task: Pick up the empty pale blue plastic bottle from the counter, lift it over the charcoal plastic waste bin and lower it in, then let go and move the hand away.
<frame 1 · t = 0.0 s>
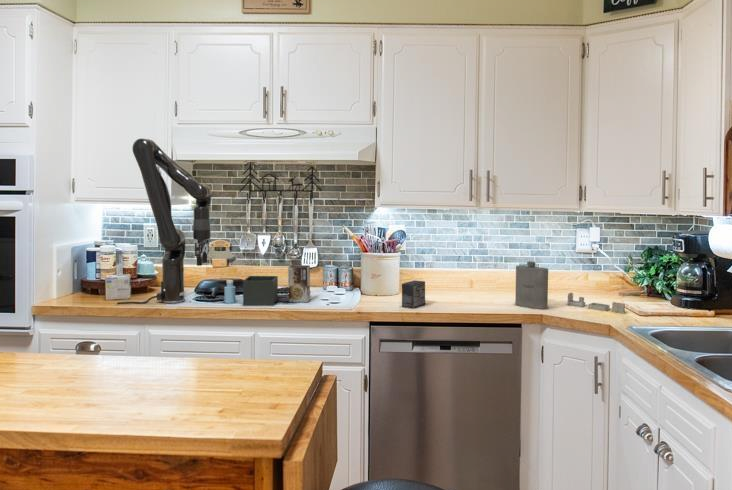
hand: (202, 264, 278), 17 cm above the worktop, tool pointing down, fingers open, 8 cm apart
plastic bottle: (230, 302, 278), on the worktop
light bulb box: (118, 298, 286), on the worktop
flask: (530, 307, 272), on the worktop
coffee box: (299, 301, 282), on the worktop
waste bin: (260, 302, 278), on the worktop
small box: (413, 305, 273), on the worktop
bathroom set: (596, 308, 269), on the worktop
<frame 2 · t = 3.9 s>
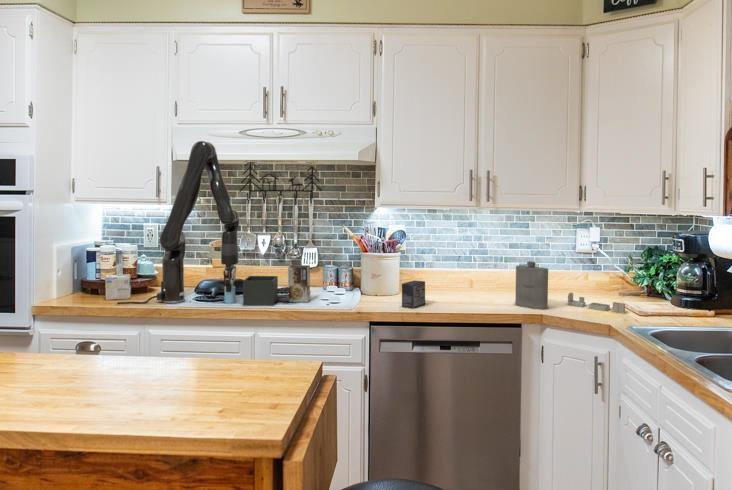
hand: (229, 290, 278), 5 cm above the worktop, tool pointing down, fingers closed on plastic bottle, 4 cm apart
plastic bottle: (230, 302, 278), on the worktop, touching gripper
everything else where it was.
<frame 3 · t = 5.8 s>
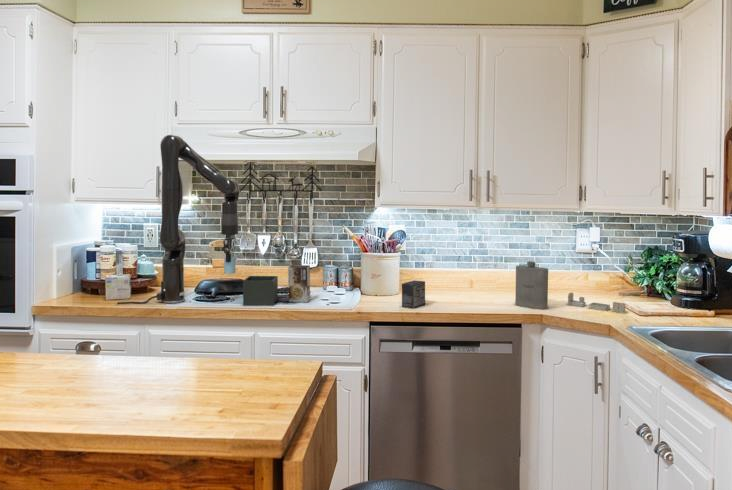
hand: (229, 261, 277), 19 cm above the worktop, tool pointing down, fingers closed on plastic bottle, 4 cm apart
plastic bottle: (229, 273, 277), point 13 cm above the worktop, touching gripper
everything else where it was.
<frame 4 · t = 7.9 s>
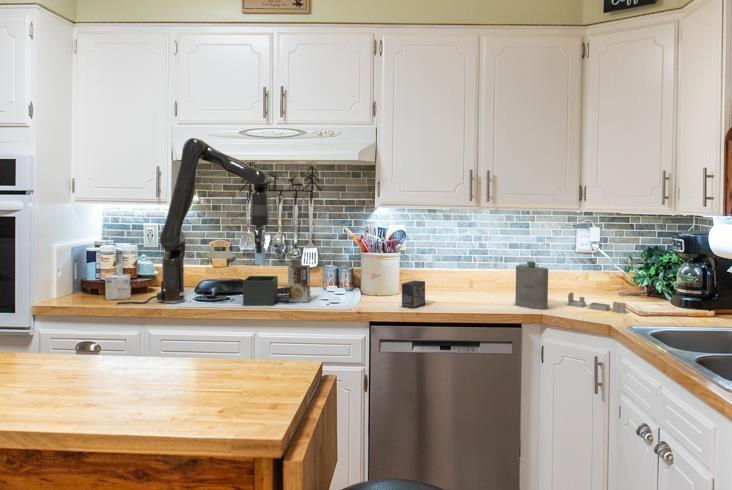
hand: (260, 251, 277), 23 cm above the worktop, tool pointing down, fingers closed on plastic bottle, 4 cm apart
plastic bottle: (260, 263, 277), point 18 cm above the worktop, touching gripper
everything else where it was.
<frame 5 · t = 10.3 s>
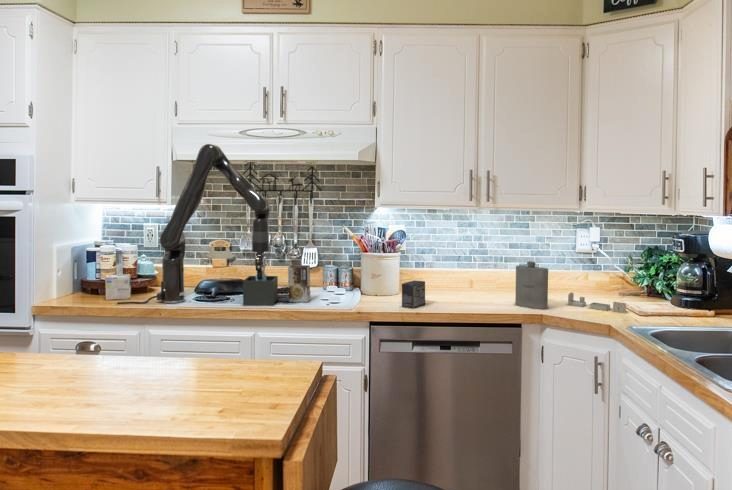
hand: (260, 278, 278), 11 cm above the worktop, tool pointing down, fingers closed on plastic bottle, 4 cm apart
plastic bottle: (261, 289, 278), point 6 cm above the worktop, touching gripper
everything else where it was.
when the fingers open (7 cm above the worktop, at t = 12.6 s): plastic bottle stays where it is, resting on waste bin.
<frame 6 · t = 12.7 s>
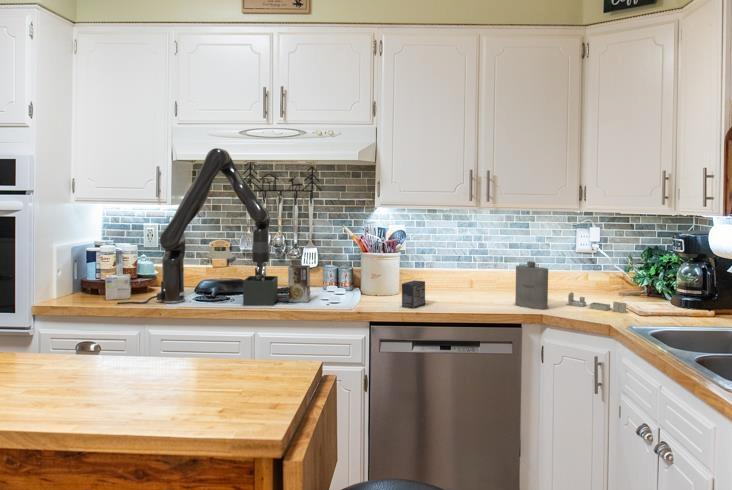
hand: (260, 287, 278), 7 cm above the worktop, tool pointing down, fingers open, 6 cm apart
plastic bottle: (261, 300, 278), point 1 cm above the worktop, touching waste bin
everything else where it was.
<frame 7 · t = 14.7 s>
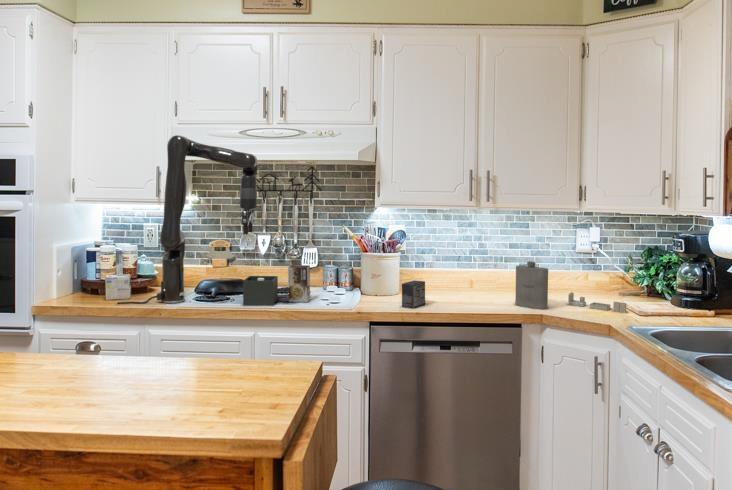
hand: (247, 233, 280), 31 cm above the worktop, tool pointing down, fingers open, 8 cm apart
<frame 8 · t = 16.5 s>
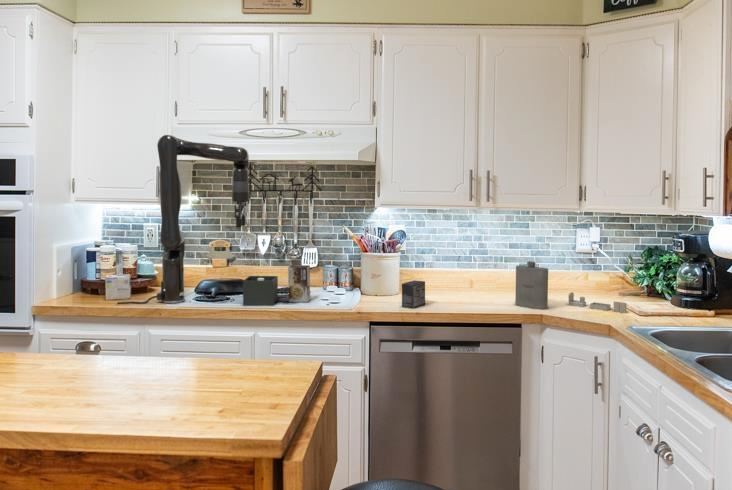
hand: (240, 226, 281), 34 cm above the worktop, tool pointing down, fingers open, 8 cm apart
at the end: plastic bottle inside the target area in the waste bin (0.1 cm from its centre), point 1.0 cm above the waste bin's base; the gripper is holding nothing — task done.
